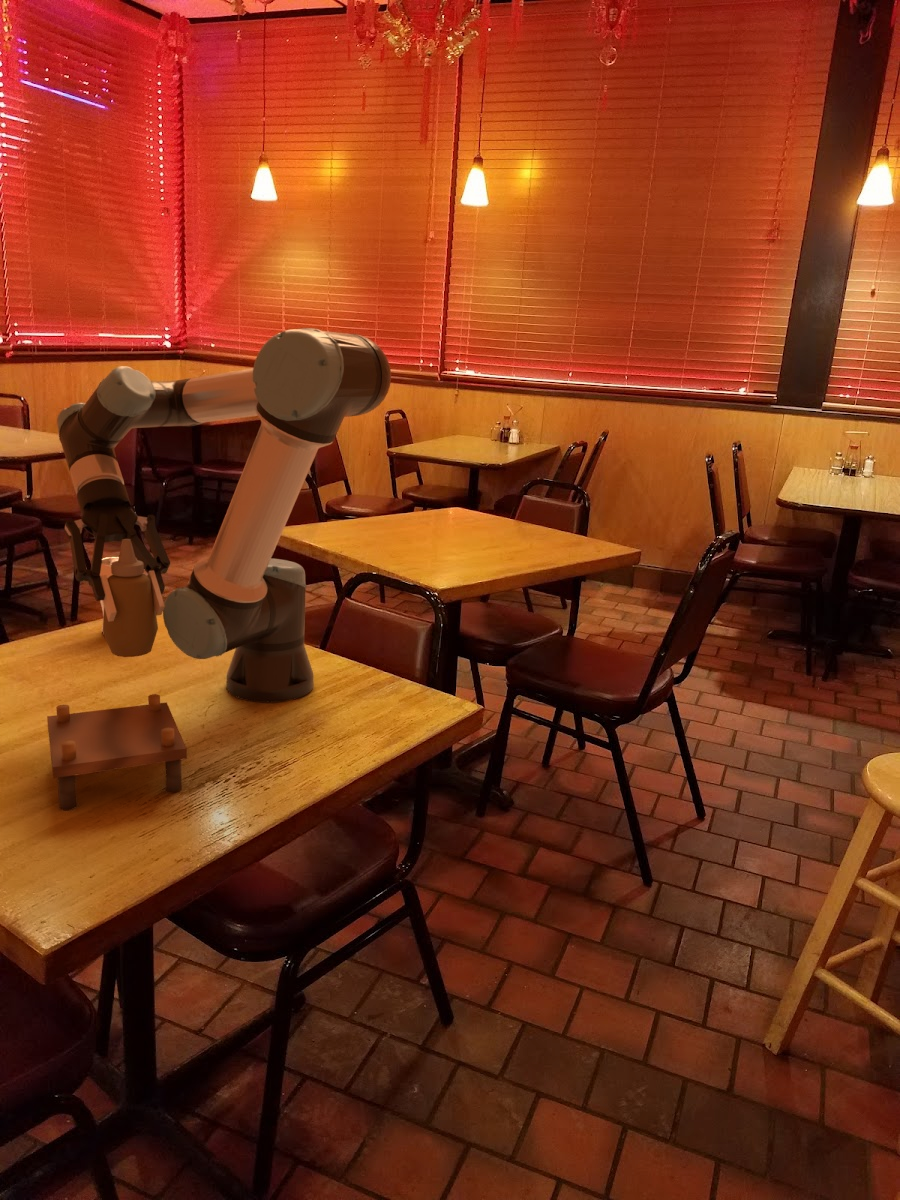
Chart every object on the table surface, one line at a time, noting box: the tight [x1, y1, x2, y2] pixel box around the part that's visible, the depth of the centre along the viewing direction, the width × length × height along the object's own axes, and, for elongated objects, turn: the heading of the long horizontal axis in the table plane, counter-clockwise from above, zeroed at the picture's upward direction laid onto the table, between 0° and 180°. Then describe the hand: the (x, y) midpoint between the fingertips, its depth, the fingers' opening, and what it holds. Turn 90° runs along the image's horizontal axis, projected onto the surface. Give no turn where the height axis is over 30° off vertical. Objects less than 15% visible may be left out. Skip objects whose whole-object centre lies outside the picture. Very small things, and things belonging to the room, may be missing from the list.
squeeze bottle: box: [102, 539, 159, 658], centre depth 129 cm, size 8×8×18 cm
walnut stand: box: [46, 693, 188, 811], centre depth 114 cm, size 16×16×8 cm
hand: (136, 613), depth 127 cm, fingers closed on squeeze bottle, 6 cm apart
